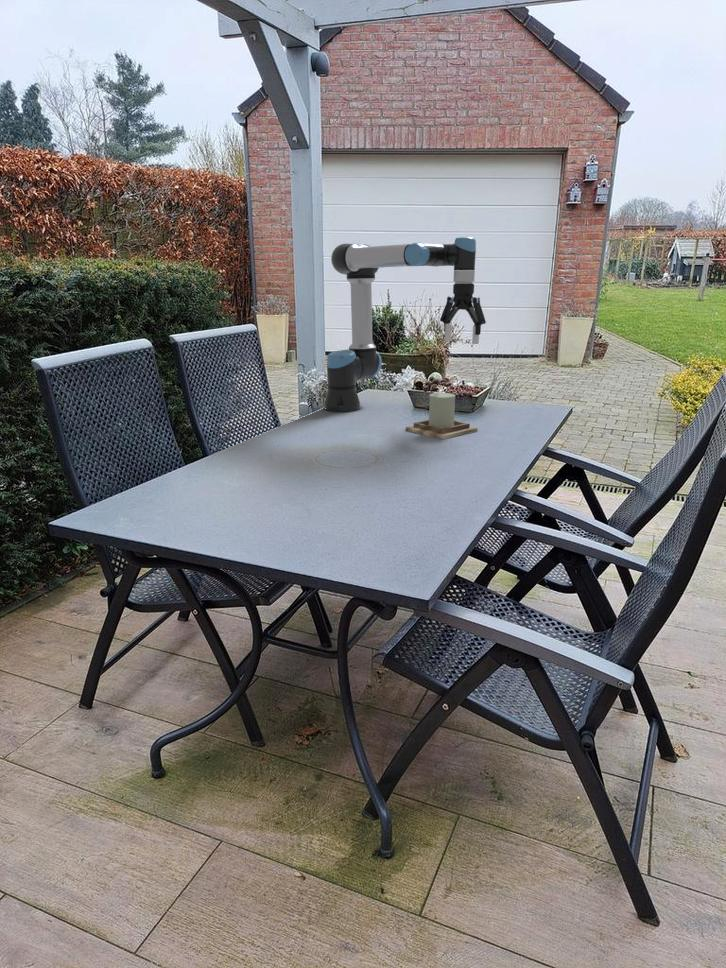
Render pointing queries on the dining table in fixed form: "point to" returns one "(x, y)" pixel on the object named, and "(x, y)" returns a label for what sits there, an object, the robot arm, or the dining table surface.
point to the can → (441, 410)
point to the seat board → (440, 433)
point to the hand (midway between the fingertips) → (461, 342)
